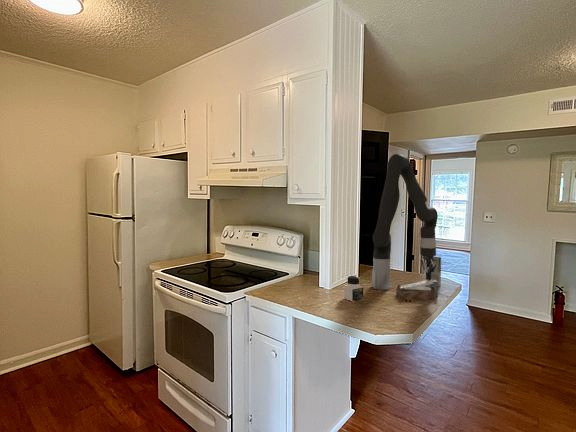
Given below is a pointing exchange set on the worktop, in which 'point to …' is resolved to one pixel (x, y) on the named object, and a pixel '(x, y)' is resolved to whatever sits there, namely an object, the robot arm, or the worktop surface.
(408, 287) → the clamp strap
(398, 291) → the walnut block
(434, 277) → the coffee box
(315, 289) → the worktop surface
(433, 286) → the dark grey block
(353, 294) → the medicine bottle
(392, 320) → the worktop surface
